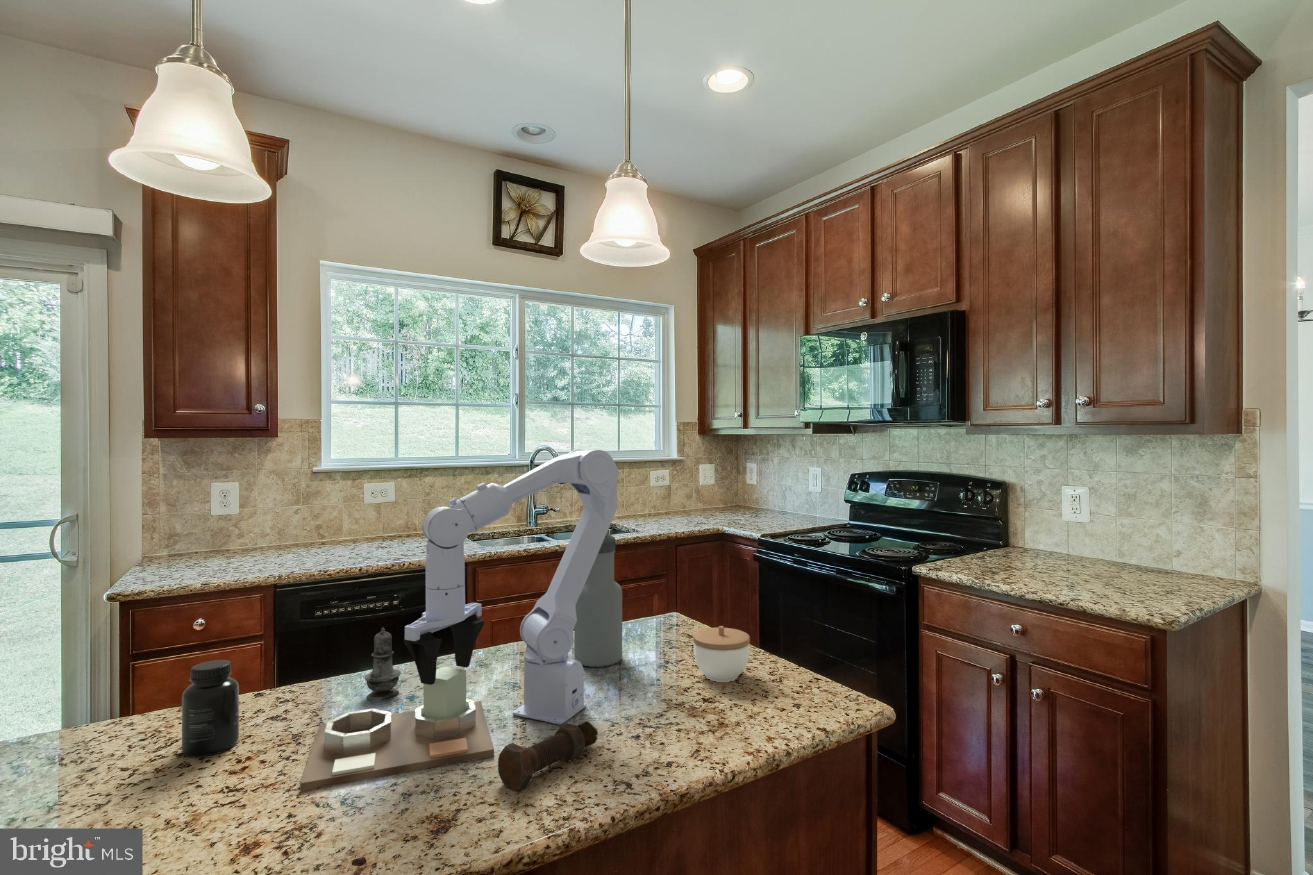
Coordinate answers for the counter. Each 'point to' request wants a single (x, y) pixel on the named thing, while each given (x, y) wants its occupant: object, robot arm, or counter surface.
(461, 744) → the tags
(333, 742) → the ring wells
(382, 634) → the salt shaker
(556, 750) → the bolt
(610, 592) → the water bottle
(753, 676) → the counter surface
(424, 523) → the robot arm
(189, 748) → the supplement bottle
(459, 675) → the sage plug
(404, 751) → the walnut board
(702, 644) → the lidded jar
